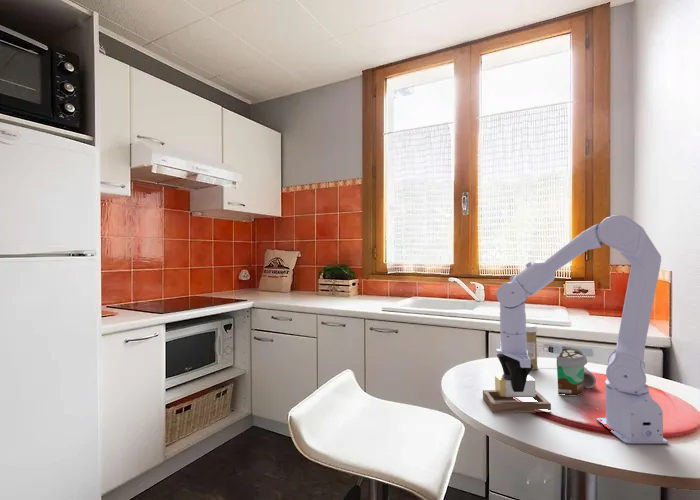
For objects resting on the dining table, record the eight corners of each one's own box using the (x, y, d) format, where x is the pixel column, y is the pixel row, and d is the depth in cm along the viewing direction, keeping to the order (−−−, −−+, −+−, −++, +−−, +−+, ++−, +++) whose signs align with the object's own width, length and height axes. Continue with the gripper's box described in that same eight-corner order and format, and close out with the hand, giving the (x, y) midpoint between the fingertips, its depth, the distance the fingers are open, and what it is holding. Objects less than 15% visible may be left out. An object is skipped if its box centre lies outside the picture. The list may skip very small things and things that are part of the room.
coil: (597, 373, 96) (573, 353, 113) (577, 371, 97) (557, 351, 114) (596, 391, 96) (572, 368, 113) (576, 388, 97) (555, 365, 114)
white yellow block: (535, 396, 86) (535, 380, 86) (500, 397, 87) (500, 380, 87) (528, 390, 90) (528, 374, 90) (495, 390, 91) (494, 374, 91)
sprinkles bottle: (539, 367, 113) (538, 324, 113) (534, 371, 110) (533, 327, 110) (524, 364, 117) (523, 322, 117) (518, 368, 114) (517, 325, 113)
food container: (586, 402, 88) (585, 361, 88) (557, 397, 92) (556, 357, 92) (589, 385, 98) (588, 348, 98) (563, 381, 102) (562, 345, 102)
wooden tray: (551, 412, 84) (550, 403, 84) (493, 412, 85) (492, 404, 85) (535, 397, 92) (535, 389, 92) (482, 398, 93) (482, 390, 93)
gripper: (487, 325, 96) (488, 376, 96) (507, 339, 81) (508, 400, 81) (514, 324, 95) (516, 376, 95) (539, 339, 81) (541, 400, 81)
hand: (514, 387), depth 88 cm, fingers closed on white yellow block, 4 cm apart
